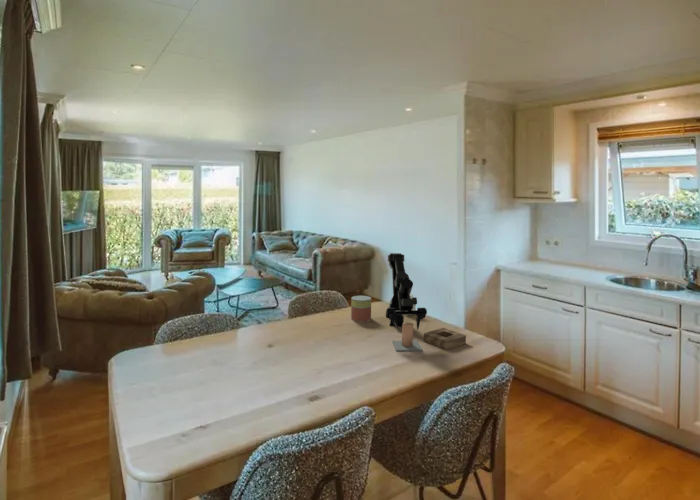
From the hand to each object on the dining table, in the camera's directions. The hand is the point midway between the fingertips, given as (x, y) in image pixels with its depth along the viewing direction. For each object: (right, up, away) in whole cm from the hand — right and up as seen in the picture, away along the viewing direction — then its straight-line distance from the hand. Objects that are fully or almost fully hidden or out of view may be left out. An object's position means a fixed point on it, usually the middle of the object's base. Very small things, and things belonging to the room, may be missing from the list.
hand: (408, 329), depth 194 cm
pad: (0, -8, +2) cm, 9 cm away
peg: (0, -8, +2) cm, 8 cm away
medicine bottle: (+7, -1, +54) cm, 55 cm away
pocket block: (+19, -8, +8) cm, 22 cm away
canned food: (-20, -2, +44) cm, 48 cm away
